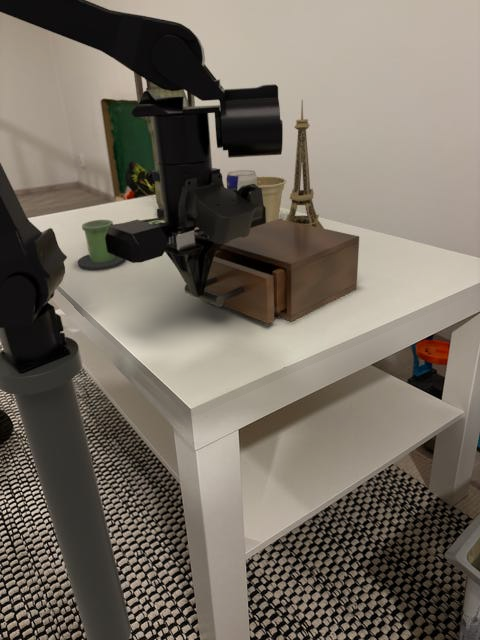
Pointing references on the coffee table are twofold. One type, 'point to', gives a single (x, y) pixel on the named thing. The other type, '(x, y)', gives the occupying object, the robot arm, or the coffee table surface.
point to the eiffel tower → (307, 194)
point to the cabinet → (304, 261)
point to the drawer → (245, 285)
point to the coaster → (89, 265)
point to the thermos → (159, 94)
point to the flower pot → (271, 195)
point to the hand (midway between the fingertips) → (197, 295)
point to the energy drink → (240, 178)
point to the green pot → (97, 240)
